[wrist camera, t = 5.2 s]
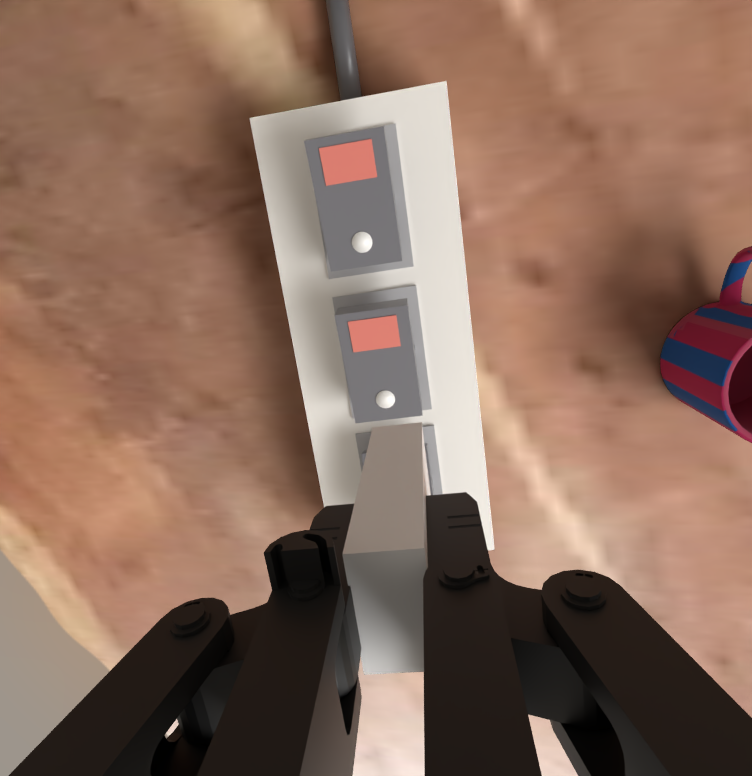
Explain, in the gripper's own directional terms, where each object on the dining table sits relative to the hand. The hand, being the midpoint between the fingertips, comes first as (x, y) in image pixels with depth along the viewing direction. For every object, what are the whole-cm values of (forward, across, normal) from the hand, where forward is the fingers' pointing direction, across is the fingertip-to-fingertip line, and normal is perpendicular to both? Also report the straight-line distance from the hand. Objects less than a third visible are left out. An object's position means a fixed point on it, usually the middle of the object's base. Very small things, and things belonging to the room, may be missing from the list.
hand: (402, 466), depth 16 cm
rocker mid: (+12, -1, +1) cm, 12 cm away
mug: (+18, +19, -1) cm, 26 cm away
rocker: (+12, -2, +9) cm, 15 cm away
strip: (+18, -2, +4) cm, 19 cm away
